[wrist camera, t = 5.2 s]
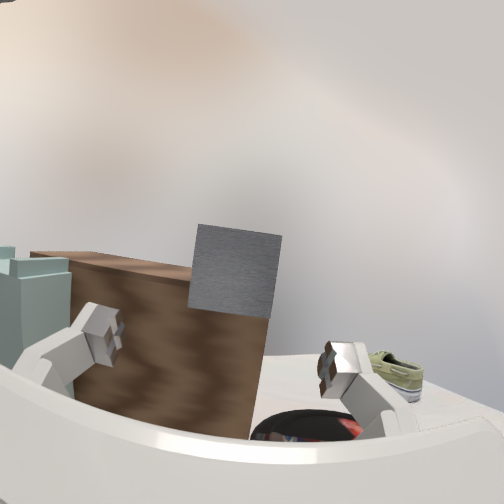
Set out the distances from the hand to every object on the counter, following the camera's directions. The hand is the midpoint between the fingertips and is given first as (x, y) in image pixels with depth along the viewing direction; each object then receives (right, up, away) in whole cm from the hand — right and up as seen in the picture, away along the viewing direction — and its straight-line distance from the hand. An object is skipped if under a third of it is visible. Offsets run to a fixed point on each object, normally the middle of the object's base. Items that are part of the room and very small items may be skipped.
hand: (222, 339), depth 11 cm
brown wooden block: (-12, -24, +17) cm, 31 cm away
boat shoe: (+35, -31, +54) cm, 72 cm away
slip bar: (0, +1, +13) cm, 13 cm away
